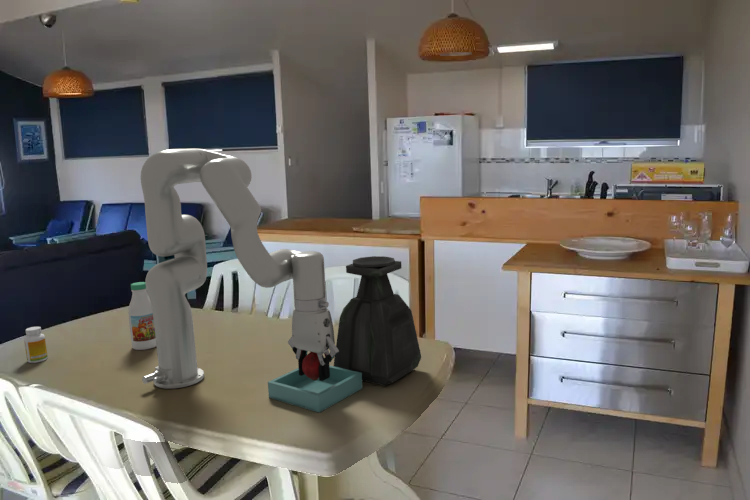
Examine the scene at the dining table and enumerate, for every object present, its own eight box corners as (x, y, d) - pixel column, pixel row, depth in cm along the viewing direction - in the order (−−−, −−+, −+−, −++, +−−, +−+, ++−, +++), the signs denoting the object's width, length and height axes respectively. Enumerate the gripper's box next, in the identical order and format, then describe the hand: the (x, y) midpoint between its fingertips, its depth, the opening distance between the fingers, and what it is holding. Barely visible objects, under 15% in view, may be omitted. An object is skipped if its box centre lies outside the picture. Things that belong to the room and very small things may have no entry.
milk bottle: (126, 349, 189) (119, 285, 185) (144, 341, 196) (137, 279, 192) (146, 351, 186) (139, 286, 182) (164, 343, 193) (157, 281, 189)
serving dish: (319, 412, 139) (318, 395, 138) (268, 397, 148) (267, 381, 147) (362, 388, 151) (361, 372, 151) (313, 376, 161) (312, 361, 160)
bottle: (331, 377, 159) (325, 263, 154) (368, 358, 172) (363, 252, 167) (390, 391, 149) (385, 269, 144) (424, 369, 162) (421, 257, 157)
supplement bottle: (52, 358, 183) (47, 326, 182) (35, 364, 179) (30, 331, 177) (39, 356, 186) (35, 324, 184) (23, 362, 181) (18, 330, 179)
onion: (323, 385, 146) (321, 353, 144) (299, 384, 147) (297, 352, 146) (329, 376, 151) (328, 345, 150) (307, 375, 153) (305, 344, 151)
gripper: (348, 304, 144) (352, 378, 147) (294, 296, 154) (298, 365, 157) (327, 312, 138) (331, 389, 141) (272, 303, 148) (277, 374, 151)
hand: (314, 375), depth 149 cm, fingers closed on onion, 5 cm apart
